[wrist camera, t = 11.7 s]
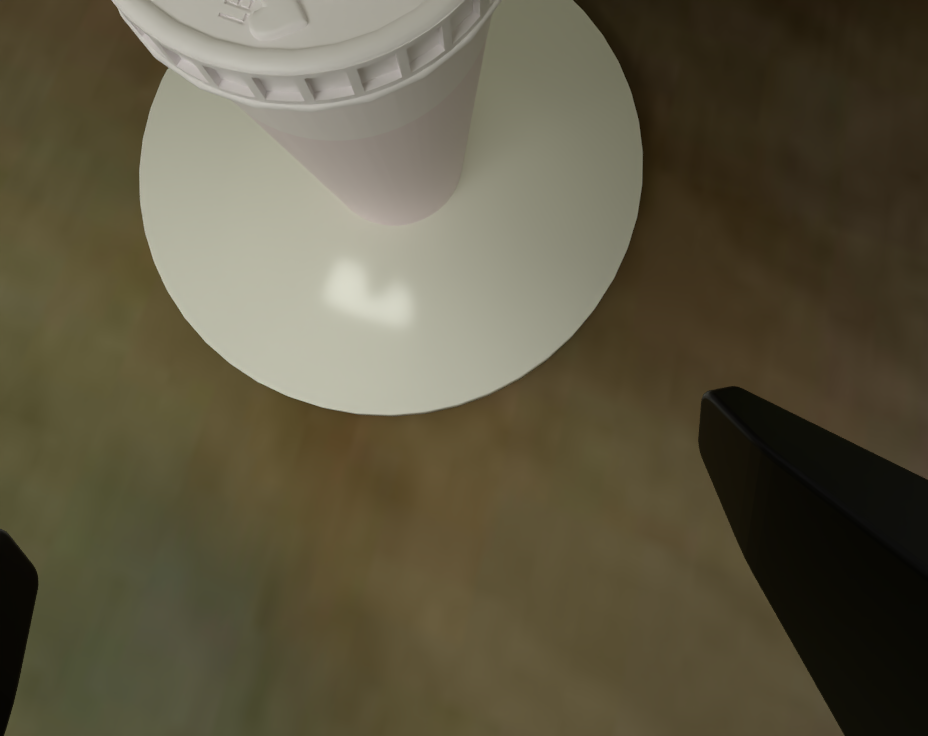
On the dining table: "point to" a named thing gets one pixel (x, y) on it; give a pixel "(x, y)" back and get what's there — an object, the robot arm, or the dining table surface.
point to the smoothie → (339, 85)
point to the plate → (405, 232)
